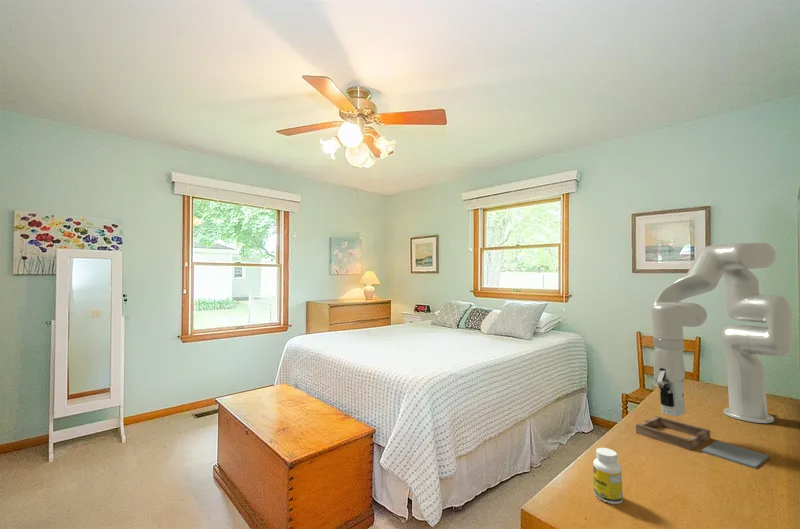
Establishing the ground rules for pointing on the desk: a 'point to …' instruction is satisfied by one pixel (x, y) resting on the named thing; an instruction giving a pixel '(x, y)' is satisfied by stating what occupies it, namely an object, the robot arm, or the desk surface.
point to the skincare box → (675, 400)
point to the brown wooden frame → (689, 443)
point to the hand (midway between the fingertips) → (672, 402)
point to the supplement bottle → (607, 476)
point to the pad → (736, 454)
